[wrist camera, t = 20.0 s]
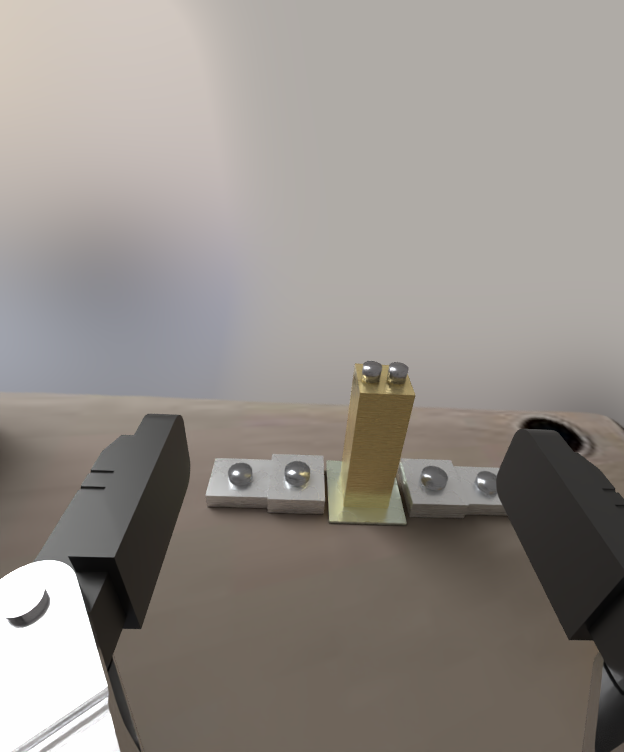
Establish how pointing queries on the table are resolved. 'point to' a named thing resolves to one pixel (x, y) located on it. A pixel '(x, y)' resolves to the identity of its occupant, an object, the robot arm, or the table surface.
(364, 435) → the tall studded toy brick
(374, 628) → the table surface
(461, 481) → the studded plate chain
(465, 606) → the table surface
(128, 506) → the robot arm
